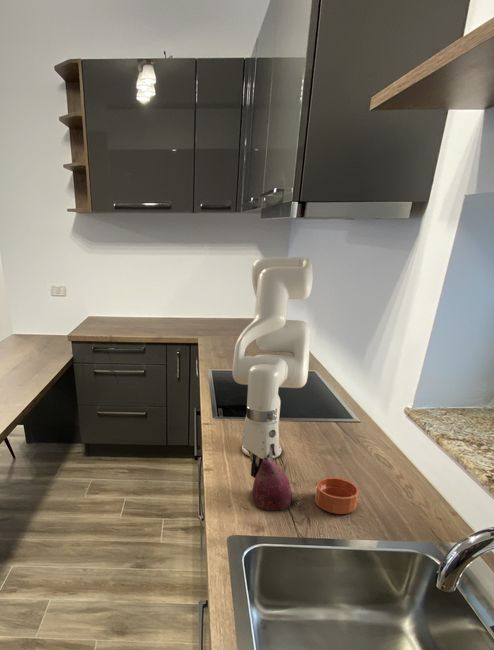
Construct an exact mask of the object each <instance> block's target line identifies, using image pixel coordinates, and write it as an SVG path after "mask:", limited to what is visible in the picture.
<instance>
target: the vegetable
mask: <svg viewBox="0 0 494 650" xmlns="http://www.w3.org/2000/svg"><path fill="white" fill-rule="evenodd" d="M251 500H252V503H253V505H255V506H256V507H258V508H260V509H263V510H266V511H283V510H286V509H287V508H288V507H290V505H291V504H292V503H291V502H292V490H291V484H290V481H289V479H288V477H287V474H286V473H285V472H284V470H283V469H282V468H281V466H279V465H278V464H276V463H275V462H274V460H273V461H272V460H271V459H270V458H267V457H266V456H265V457H264V459H263V461H262V465H261V467H260V469H259V471H258V473H257V475H256V477H255V478H254V480H253V483H252V491H251Z"/></svg>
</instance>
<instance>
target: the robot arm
mask: <svg viewBox="0 0 494 650" xmlns="http://www.w3.org/2000/svg"><path fill="white" fill-rule="evenodd" d="M313 281H314V273H313V263H312V261H311V259H310V258H308V257H303V256H299V257H298V256H297V257H293V256H291V257H289V256H269V257H262V258H259V259H257V260H255V261H254V262H253V263H252V267H251V282H252V283H251V284H252V287H253V291H254V296H255V307H254V315H253V317H254V318H253V320H252V321H251V322H250V323H249V324H248V325H247V326H246V327H245V328H244V329H243V330H242V332H241V333H239V336H238V338H237V340H236V343H235V345H234V351H233V357H232V358H233V360H232V368H231V369H232V374H231V375H232V378H233V380H234V382H235V383H237V384H239V385H244V386H245V385H246V386H247V397H246V414H245V418H244V424H243V432H242V435H241V436H242V445H241V451H242V453H244V454H245V455H246V456H248V457H249V461H250V462H251V465H250V466H251V467H250V476H251V477H252V478H253V479H255V477H256V475H257V473H258V471H259V469H260V467H261V465H262V461H263V459H264V457H265V456H266V457H267V458H270V459H271V460H272V461H273V462H274V459H276V458H278V457H279V456H281V454H282V450H283V449H282V447H281V445H280V428H279V427H280V425H279V424H280V413H281V403H282V402H281V397H280V396H279V388H282V389H283V388H287V389H301V388H304V386H306V384H307V382H308V376H309V367H310V366H309V364H310V347H311V329H310V326H309V324H308V323H307V322H306V321H303V320H299V319H298V320H297V319H295V320H294V319H292V320H291V319H287V313H288V312H287V311H288V300H306V299H308V298H309V297H310V296H311V293H312V288H313V284H314V283H313ZM254 341H255V345H256V347H257V348H258V350H260V351H264V352H271V353H272V352H273V353H289V354H291V355H289V354H288V355H285V354H271V353H270V354H269V353H267V354H265V353H263V354H257V355H255V356H254V355H253V356H252V355H245V353H246V349H247V348H248V346H249V345H250V344H251V343H252V342H254Z"/></svg>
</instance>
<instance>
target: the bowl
mask: <svg viewBox="0 0 494 650" xmlns="http://www.w3.org/2000/svg"><path fill="white" fill-rule="evenodd" d="M359 495H360V490H359V487H358V486H357V485H356V484H355V483H354V482H351V481H350V480H347V479H344V478H341V477H333V476H332V477H324V478H321V479H320V480H318V481H317V482H316V487H315V495H314V503H315V504H316V506H318V507H319V508H320V509H322V510H323V511H325V512H327V513H332V514H336V515H346V514H350V513H352V512H353V513H354V511H355V510H356V509H357V507H358V501H359Z"/></svg>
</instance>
